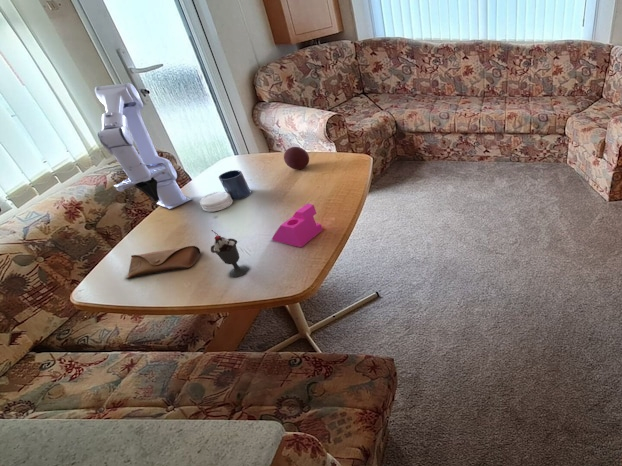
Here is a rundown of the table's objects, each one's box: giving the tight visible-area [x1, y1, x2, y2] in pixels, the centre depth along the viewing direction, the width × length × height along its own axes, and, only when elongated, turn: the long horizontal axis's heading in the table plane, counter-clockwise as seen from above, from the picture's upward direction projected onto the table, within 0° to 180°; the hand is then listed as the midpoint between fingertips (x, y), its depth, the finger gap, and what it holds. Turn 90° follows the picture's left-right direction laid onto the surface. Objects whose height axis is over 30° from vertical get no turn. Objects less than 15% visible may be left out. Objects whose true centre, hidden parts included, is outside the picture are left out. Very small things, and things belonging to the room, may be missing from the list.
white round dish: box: [199, 191, 234, 213], centre depth 145 cm, size 10×10×4 cm
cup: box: [218, 169, 252, 201], centre depth 150 cm, size 8×8×9 cm
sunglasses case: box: [125, 245, 201, 280], centre depth 117 cm, size 18×7×7 cm, turn 107°
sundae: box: [210, 229, 249, 278], centre depth 110 cm, size 7×7×15 cm
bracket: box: [271, 203, 324, 248], centre depth 126 cm, size 12×10×10 cm
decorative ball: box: [283, 146, 310, 170], centre depth 168 cm, size 10×10×10 cm
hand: (155, 200), depth 132 cm, fingers closed
